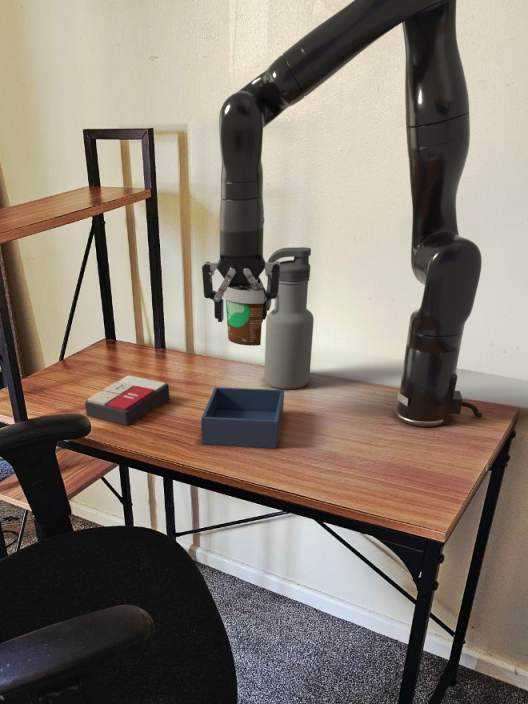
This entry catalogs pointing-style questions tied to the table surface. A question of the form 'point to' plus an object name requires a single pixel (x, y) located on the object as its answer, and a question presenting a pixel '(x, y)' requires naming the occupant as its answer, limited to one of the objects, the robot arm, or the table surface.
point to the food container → (244, 315)
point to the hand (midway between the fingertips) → (240, 321)
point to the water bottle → (289, 323)
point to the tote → (243, 417)
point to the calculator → (127, 399)
